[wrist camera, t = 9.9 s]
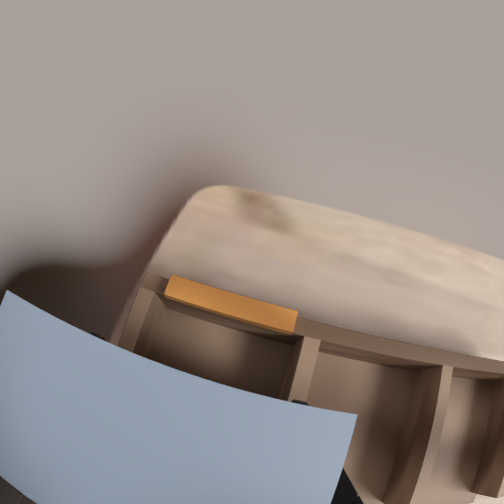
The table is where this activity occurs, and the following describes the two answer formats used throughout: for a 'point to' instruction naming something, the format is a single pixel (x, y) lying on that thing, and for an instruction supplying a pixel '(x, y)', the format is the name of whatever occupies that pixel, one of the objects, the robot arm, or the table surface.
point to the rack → (340, 387)
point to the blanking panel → (148, 427)
